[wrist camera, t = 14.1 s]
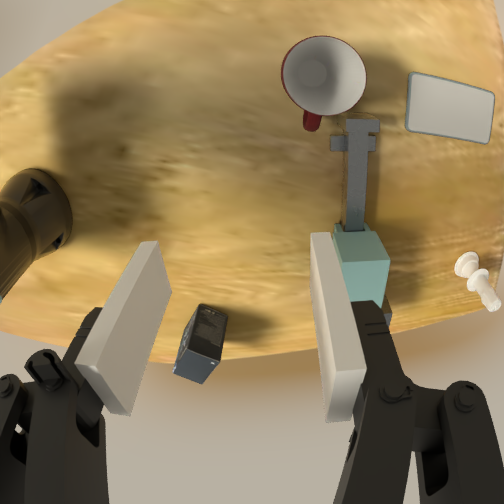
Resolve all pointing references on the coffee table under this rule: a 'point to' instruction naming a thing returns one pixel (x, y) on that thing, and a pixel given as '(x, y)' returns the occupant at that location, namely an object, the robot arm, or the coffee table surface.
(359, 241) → the block
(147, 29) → the coffee table surface
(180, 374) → the box
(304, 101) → the mug
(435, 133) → the smartphone
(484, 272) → the candle
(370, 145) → the rail
